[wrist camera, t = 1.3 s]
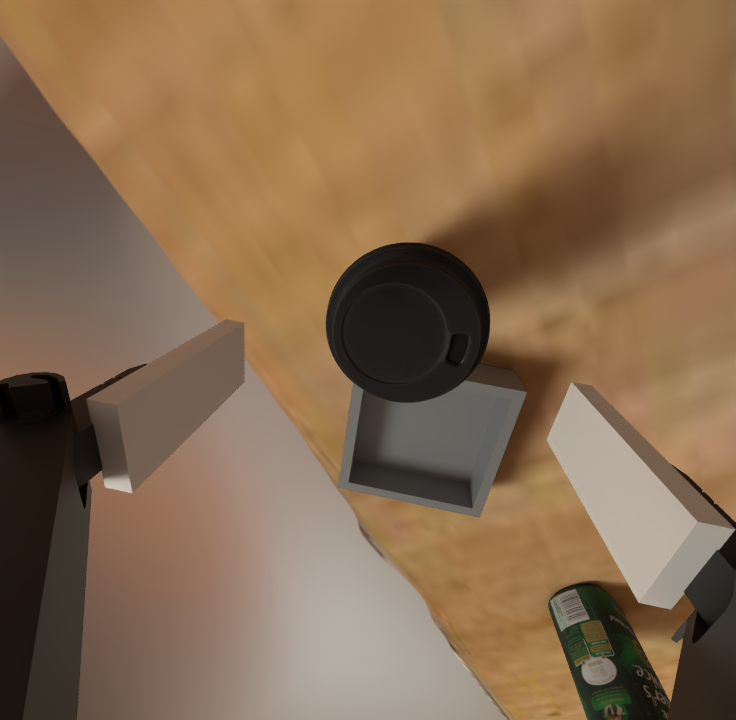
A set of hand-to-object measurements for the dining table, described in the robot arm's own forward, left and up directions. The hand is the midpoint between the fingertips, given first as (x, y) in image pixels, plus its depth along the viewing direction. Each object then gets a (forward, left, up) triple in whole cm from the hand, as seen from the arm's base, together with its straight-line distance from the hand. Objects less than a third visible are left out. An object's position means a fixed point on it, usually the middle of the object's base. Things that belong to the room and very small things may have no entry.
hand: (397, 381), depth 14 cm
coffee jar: (-30, +37, -20) cm, 52 cm away
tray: (-4, +14, -20) cm, 25 cm away
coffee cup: (0, 0, -20) cm, 20 cm away
